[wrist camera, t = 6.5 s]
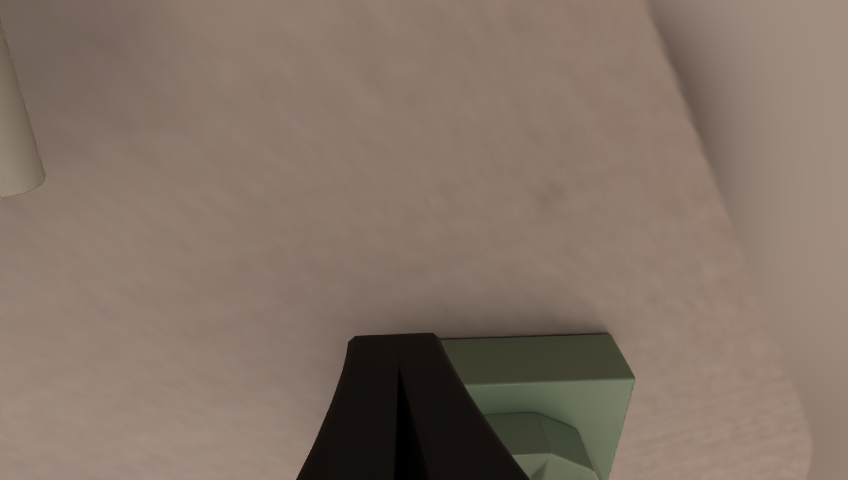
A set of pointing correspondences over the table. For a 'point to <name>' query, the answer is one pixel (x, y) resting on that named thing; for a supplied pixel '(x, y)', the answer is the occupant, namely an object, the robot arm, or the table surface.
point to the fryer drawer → (15, 134)
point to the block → (549, 399)
